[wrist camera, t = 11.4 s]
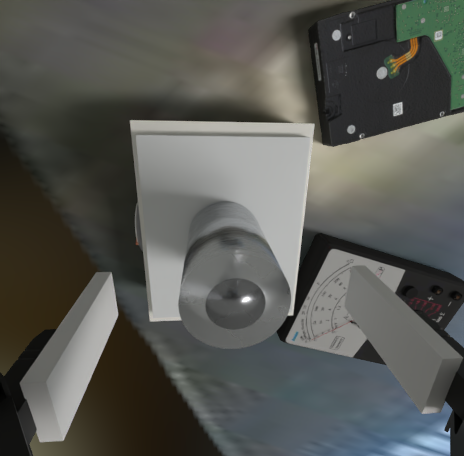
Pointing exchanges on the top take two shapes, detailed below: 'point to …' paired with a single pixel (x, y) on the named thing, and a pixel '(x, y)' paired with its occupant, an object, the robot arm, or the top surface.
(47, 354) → the robot arm
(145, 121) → the scale
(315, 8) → the top surface
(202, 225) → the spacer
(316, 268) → the multimeter
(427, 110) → the disk drive
